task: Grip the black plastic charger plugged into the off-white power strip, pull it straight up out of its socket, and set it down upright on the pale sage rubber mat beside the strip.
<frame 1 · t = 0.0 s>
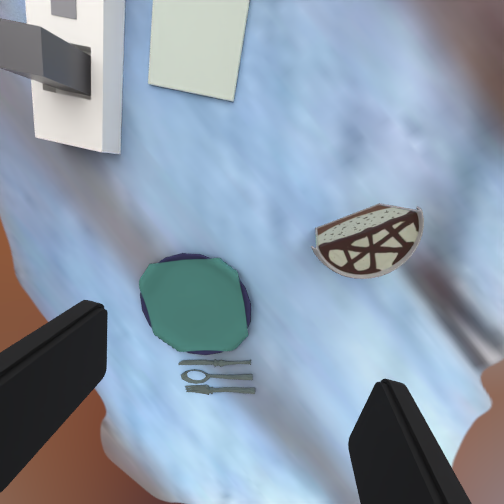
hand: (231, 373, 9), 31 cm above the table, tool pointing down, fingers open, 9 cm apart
charger: (78, 75, 34), point 2 cm above the table, touching power strip
food container: (352, 234, 38), on the table
power strip: (89, 46, 34), on the table
mat: (198, 31, 32), on the table
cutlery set: (203, 326, 47), on the table
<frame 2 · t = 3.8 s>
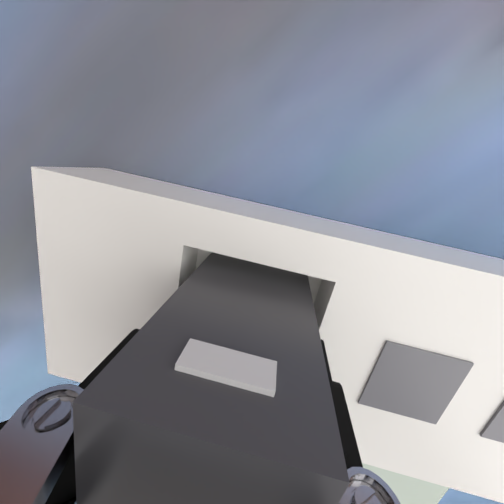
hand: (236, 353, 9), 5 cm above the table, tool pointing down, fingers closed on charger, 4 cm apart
charger: (247, 312, 12), point 2 cm above the table, touching gripper, power strip
power strip: (323, 311, 14), on the table
mat: (316, 495, 19), on the table
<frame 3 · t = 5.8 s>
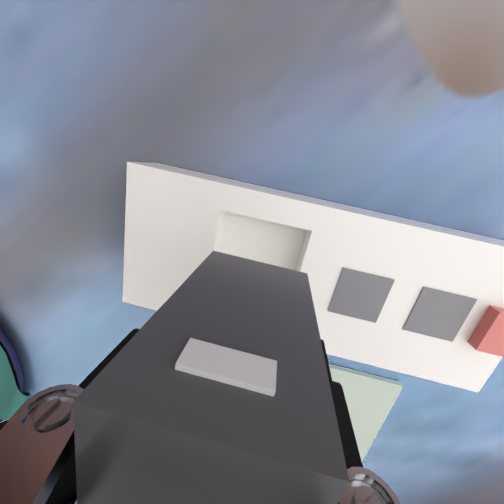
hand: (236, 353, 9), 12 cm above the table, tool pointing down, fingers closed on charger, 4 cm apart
charger: (248, 312, 12), point 9 cm above the table, touching gripper
power strip: (308, 262, 20), on the table
mat: (306, 408, 25), on the table
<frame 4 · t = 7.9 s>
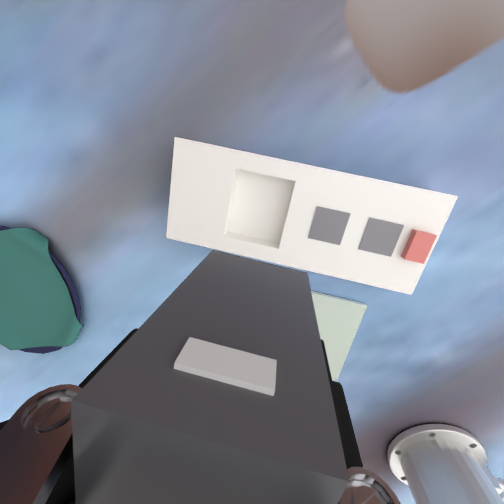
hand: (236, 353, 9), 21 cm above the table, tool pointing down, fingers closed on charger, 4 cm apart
charger: (247, 311, 12), point 18 cm above the table, touching gripper
power strip: (296, 212, 28), on the table
mat: (297, 330, 33), on the table
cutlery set: (1, 291, 38), on the table
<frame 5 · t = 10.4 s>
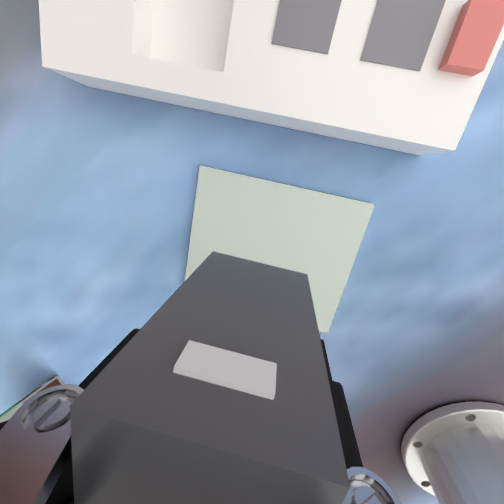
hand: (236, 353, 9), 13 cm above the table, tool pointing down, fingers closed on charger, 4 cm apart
charger: (247, 312, 12), point 10 cm above the table, touching gripper
food container: (62, 407, 32), on the table
power strip: (261, 41, 17), on the table
mat: (268, 253, 22), on the table
when the fingers open (5 cm above the table, at t = 12.3 s): charger drops 1 cm, resting on mat.
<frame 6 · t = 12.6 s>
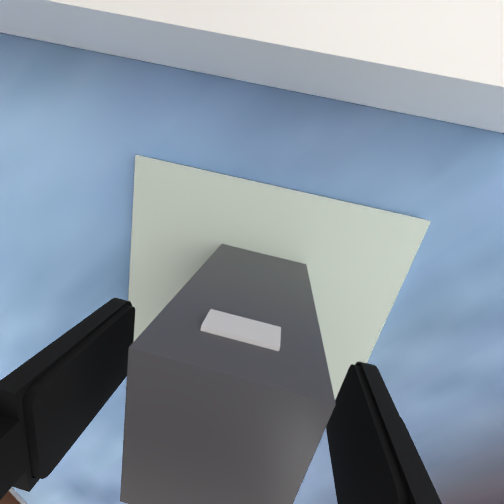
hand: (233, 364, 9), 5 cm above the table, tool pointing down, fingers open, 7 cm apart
charger: (252, 299, 14), resting on mat
mat: (252, 294, 14), on the table
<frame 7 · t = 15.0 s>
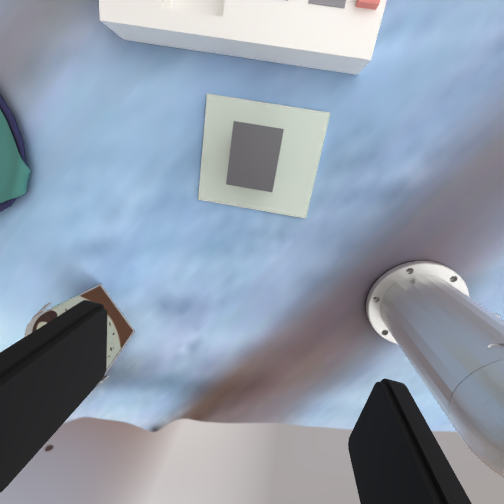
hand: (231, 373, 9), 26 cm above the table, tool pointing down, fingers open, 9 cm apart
charger: (259, 160, 30), resting on mat
food container: (104, 313, 41), on the table
mat: (259, 159, 30), on the table
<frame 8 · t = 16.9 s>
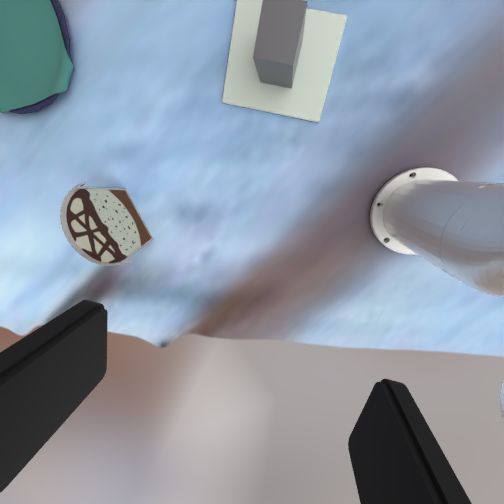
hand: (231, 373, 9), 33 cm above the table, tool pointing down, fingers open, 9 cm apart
charger: (280, 62, 33), resting on mat
food container: (126, 220, 44), on the table
mat: (280, 63, 34), on the table
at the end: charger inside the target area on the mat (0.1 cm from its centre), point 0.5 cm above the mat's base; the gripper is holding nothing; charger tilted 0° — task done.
